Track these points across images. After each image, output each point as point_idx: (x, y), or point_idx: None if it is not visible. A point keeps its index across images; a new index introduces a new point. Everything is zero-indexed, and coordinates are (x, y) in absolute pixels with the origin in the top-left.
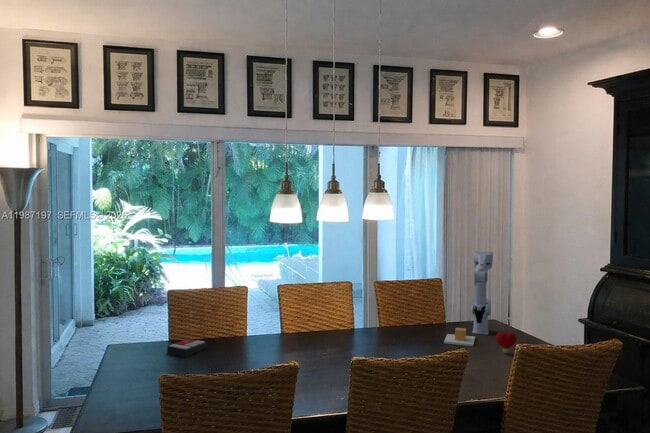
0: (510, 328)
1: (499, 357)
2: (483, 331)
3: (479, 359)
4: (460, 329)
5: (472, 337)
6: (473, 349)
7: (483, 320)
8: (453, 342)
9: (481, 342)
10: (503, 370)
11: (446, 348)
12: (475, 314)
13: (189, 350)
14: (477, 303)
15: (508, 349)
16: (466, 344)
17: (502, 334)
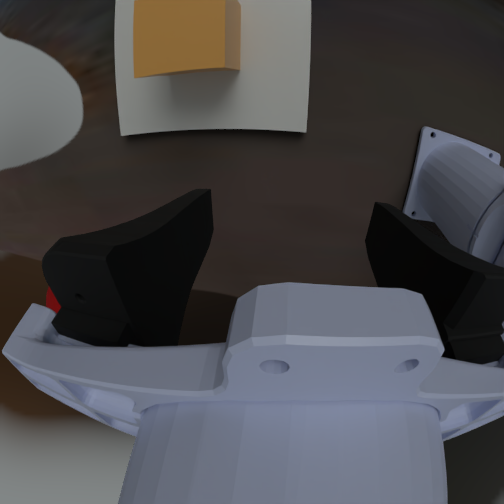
0: None
1: None
2: (422, 198)
3: (15, 187)
4: (166, 30)
5: (277, 113)
6: (85, 143)
7: (456, 239)
8: (115, 26)
9: (227, 168)
10: (4, 248)
11: (54, 32)
12: (118, 227)
13: None
14: (136, 436)
15: None
16: (120, 96)
17: None
